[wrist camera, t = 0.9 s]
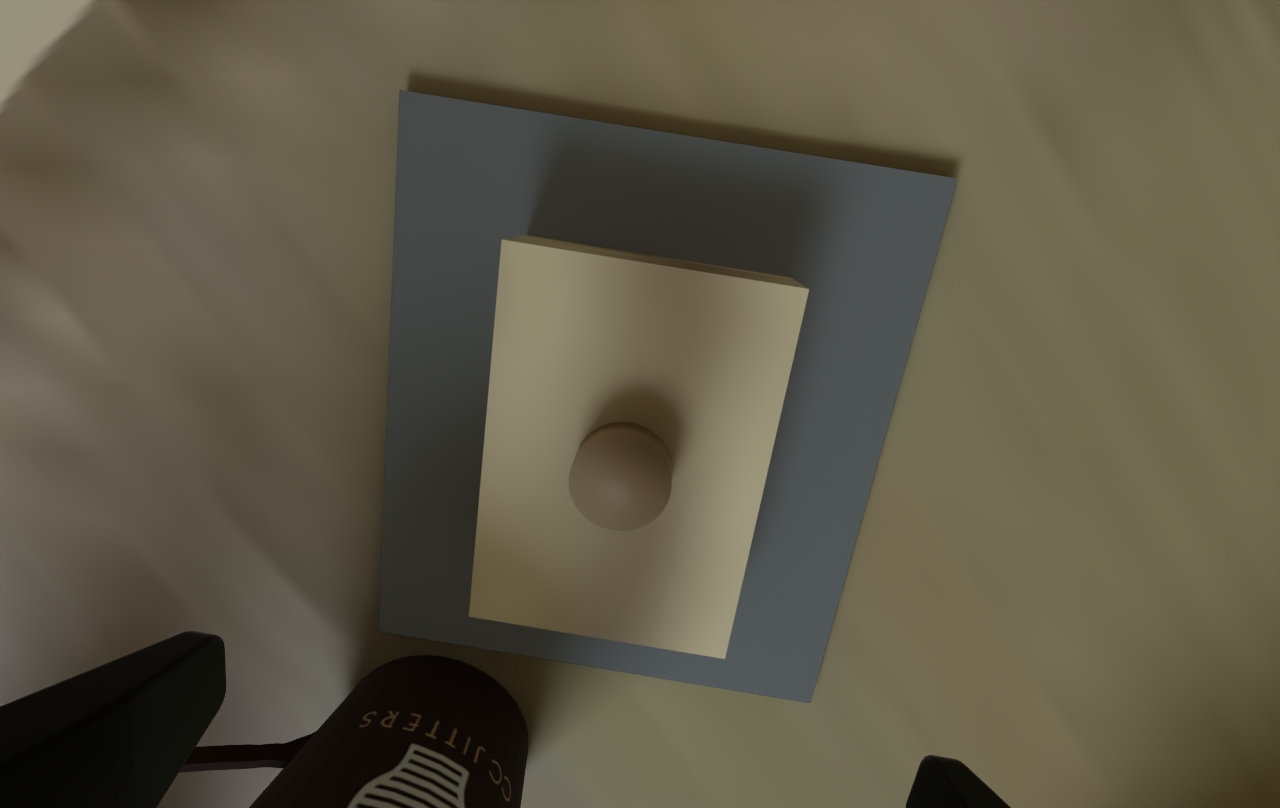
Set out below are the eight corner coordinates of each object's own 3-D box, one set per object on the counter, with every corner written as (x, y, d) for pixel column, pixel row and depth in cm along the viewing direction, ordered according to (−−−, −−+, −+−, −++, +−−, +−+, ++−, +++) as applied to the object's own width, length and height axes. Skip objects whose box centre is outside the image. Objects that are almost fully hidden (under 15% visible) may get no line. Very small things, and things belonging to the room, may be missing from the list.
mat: (383, 623, 21) (378, 631, 21) (406, 92, 17) (399, 89, 16) (807, 694, 21) (810, 703, 21) (950, 179, 16) (957, 178, 16)
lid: (493, 567, 20) (456, 640, 17) (526, 235, 17) (488, 241, 14) (719, 604, 20) (727, 685, 17) (791, 277, 17) (818, 294, 14)
